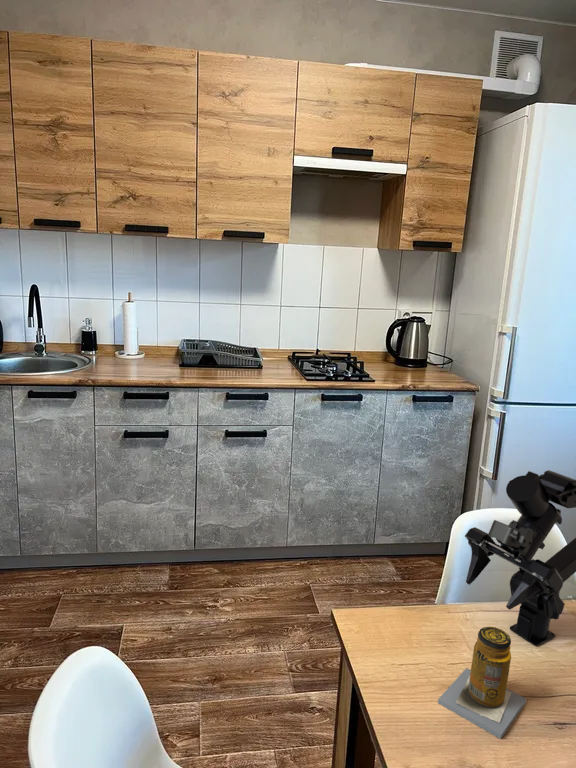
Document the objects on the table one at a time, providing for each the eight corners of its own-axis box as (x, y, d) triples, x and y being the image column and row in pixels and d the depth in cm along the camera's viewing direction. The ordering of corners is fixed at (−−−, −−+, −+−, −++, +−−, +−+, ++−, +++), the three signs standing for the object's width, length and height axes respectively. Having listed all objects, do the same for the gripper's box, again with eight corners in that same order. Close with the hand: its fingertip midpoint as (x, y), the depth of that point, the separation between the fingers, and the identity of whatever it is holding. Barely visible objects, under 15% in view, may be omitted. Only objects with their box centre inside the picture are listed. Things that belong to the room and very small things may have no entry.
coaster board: (466, 671, 109) (466, 667, 109) (525, 702, 102) (526, 698, 102) (437, 703, 101) (438, 698, 101) (500, 739, 94) (501, 734, 94)
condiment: (511, 693, 103) (520, 632, 101) (499, 723, 96) (508, 659, 94) (469, 676, 107) (477, 616, 104) (455, 704, 100) (463, 641, 97)
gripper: (476, 488, 117) (431, 552, 113) (563, 526, 101) (513, 601, 98) (497, 517, 123) (455, 579, 119) (582, 557, 107) (536, 629, 104)
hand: (486, 595), depth 110 cm, fingers open, 9 cm apart
